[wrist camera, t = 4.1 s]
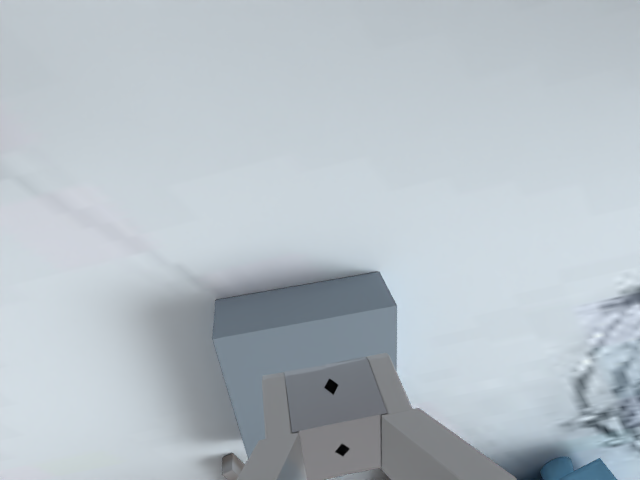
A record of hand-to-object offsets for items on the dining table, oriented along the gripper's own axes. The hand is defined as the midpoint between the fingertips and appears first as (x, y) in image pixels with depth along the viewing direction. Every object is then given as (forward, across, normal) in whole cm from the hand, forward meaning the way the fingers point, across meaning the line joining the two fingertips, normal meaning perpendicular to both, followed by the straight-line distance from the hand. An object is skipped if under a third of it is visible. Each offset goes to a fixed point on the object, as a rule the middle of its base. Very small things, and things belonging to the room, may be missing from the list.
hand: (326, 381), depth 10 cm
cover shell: (+11, 0, +12) cm, 16 cm away
